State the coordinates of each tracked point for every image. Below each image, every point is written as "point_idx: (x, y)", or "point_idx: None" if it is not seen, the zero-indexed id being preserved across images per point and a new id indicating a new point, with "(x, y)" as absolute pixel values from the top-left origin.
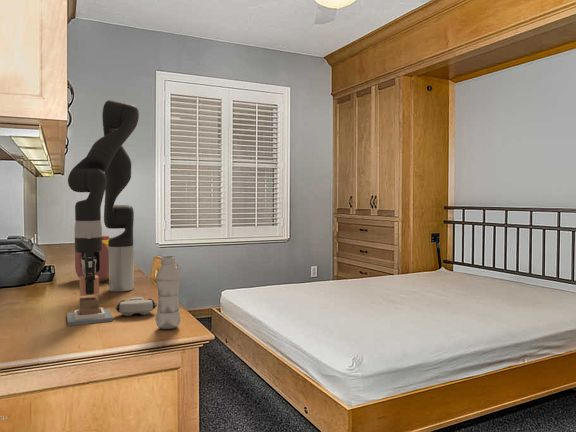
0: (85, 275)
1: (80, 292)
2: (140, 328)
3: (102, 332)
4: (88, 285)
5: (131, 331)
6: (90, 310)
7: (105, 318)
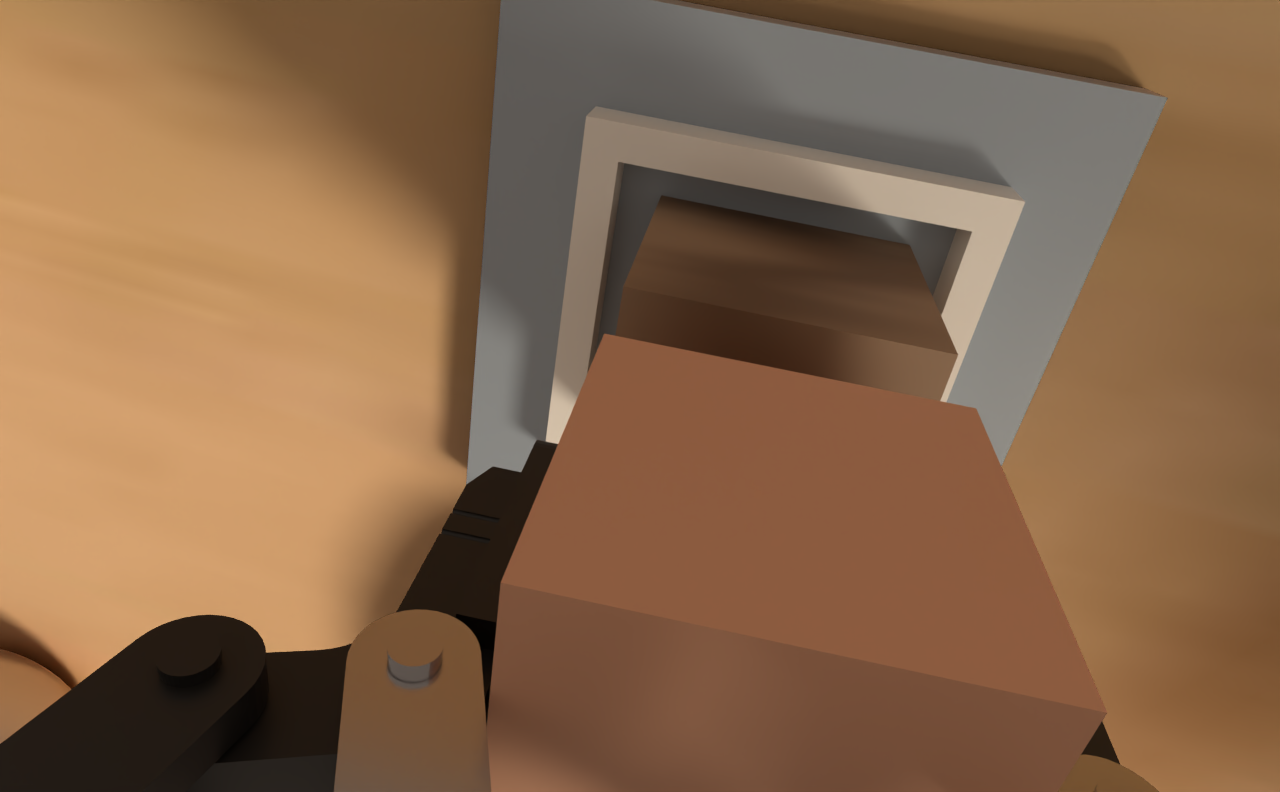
0: (166, 757)
1: (624, 372)
2: (92, 557)
3: (50, 257)
4: (420, 588)
5: (14, 473)
6: None
7: (472, 430)
